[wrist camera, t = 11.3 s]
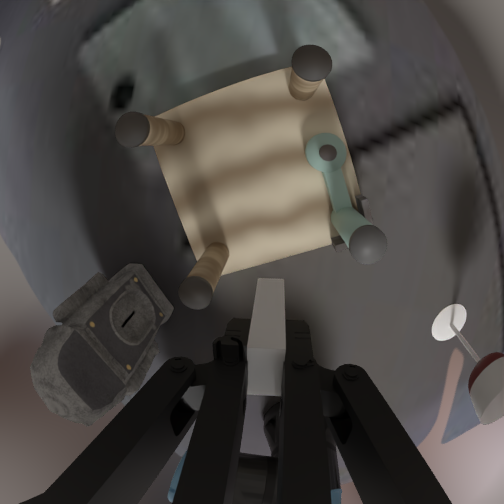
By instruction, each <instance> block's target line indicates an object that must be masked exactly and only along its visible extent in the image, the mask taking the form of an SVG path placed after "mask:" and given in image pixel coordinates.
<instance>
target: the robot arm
mask: <svg viewBox="0 0 504 504" xmlns="http://www.w3.org/2000/svg"><path fill="white" fill-rule="evenodd" d="M213 354H214V360H213V361H212V362H209V363H206V364H199V365H194V363H193V361H192V360H190V359H188V358H185V357H174V358H172V359H169V360H168V361H166V362H165V363H164V364H163V365H162V366H161V367H160V369H159V370H158V371H157V372H156V373H155V374H154V375H153V376H152V377H151V378H150V379H149V381H148V382H147V383H146V384H145V385H144V386H143V387H142V388H141V389H140V390H139V391H138V393H137V394H136V395H135V396H134V397H133V398H132V399H131V400H130V401H129V402H128V403H127V405H126V406H125V407H124V408H123V409H122V410H121V411H120V412H119V413H118V414H117V415H116V416H115V418H114V419H113V420H112V421H111V422H110V423H109V424H108V425H107V426H106V427H105V428H104V429H103V431H102V432H101V433H100V434H99V435H98V436H97V437H96V438H95V439H94V440H93V441H92V442H91V444H90V445H89V446H88V447H87V448H86V449H85V450H84V451H83V452H82V453H81V454H80V455H79V456H78V457H77V458H76V459H75V461H74V462H73V463H72V464H71V465H70V466H69V467H68V468H67V469H66V470H65V471H64V472H63V473H62V474H61V476H59V478H58V479H57V480H56V481H55V482H54V483H53V484H52V485H51V486H50V487H49V488H48V489H47V490H46V491H45V492H44V493H43V494H40V495H38V496H36V497H34V498H31V499H29V500H27V501H24V502H22V503H19V504H137V503H138V502H139V501H140V500H141V498H142V497H143V495H144V494H145V493H146V491H147V490H148V488H149V487H150V486H151V484H152V483H153V481H154V480H155V478H156V477H157V475H158V474H159V473H160V471H161V470H162V469H163V467H164V466H165V464H166V463H167V461H168V460H169V458H170V457H171V455H172V454H173V452H174V451H175V450H176V448H177V447H178V445H179V444H180V442H181V441H182V439H183V438H184V436H185V435H186V433H187V432H188V430H189V429H190V427H191V426H192V424H193V423H194V421H195V420H196V422H195V426H194V429H193V433H192V436H191V439H190V443H189V446H188V450H187V451H186V452H185V454H184V455H183V457H182V459H181V461H180V463H179V465H178V467H177V469H176V471H175V474H174V476H173V479H172V482H171V487H170V490H169V492H168V499H169V501H170V502H172V504H341V493H342V490H341V486H340V477H339V469H338V461H337V453H336V445H337V447H338V449H339V451H340V453H341V456H342V458H343V460H344V462H345V465H346V467H347V469H348V471H349V473H350V476H351V478H352V480H353V482H354V485H355V487H356V489H357V491H358V493H359V495H360V498H361V500H362V502H363V504H452V503H451V501H450V500H449V498H448V496H447V495H446V493H445V492H444V490H443V488H442V487H441V485H440V483H439V482H438V480H437V479H436V478H435V476H434V474H433V472H432V471H431V469H430V468H429V466H428V465H427V463H426V461H425V460H424V458H423V457H422V455H421V454H420V452H419V451H418V449H417V447H416V446H415V444H414V443H413V441H412V440H411V438H410V437H409V435H408V434H407V432H406V431H405V429H404V428H403V426H402V425H401V423H400V422H399V420H398V419H397V417H396V416H395V414H394V413H393V411H392V410H391V408H390V407H389V405H388V404H387V402H386V401H385V399H384V398H383V396H382V395H381V393H380V392H379V390H378V389H377V387H376V386H375V384H374V383H373V381H372V380H371V379H370V377H369V376H368V374H367V373H366V371H365V370H364V369H363V368H361V367H359V366H357V365H353V364H344V365H342V366H339V367H338V368H337V369H336V371H334V370H329V369H326V368H323V367H321V366H319V365H318V364H317V363H316V361H315V359H314V358H313V352H312V345H311V339H310V331H309V326H308V325H307V323H306V322H305V321H304V320H285V295H284V279H270V278H258V282H257V288H256V294H255V301H254V307H253V313H252V319H239V318H233V319H232V320H231V321H230V322H229V323H228V325H227V328H226V332H225V336H222V337H219V338H217V339H216V340H215V341H214V342H213ZM246 395H264V396H281V402H280V403H278V404H276V405H275V406H273V407H272V408H271V409H269V411H268V412H267V413H266V415H265V418H264V433H265V436H266V438H267V441H268V444H269V447H270V450H271V457H270V456H262V455H255V454H248V453H241V452H240V446H241V439H242V432H243V425H244V418H245V410H246ZM196 418H197V419H196Z"/></svg>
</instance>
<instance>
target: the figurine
mask: <svg viewBox="0 0 504 504" xmlns="http://www.w3.org/2000/svg"><path fill="white" fill-rule="evenodd" d="M173 309H174V307H173V306H172V305H171V303H170V302H169V301H168V299H167V298H166V297H165V295H164V294H163V292H162V291H161V290H160V289H159V287H158V286H157V284H156V283H155V282H154V280H153V279H152V277H151V276H150V274H149V273H148V272H147V270H146V269H145V268H144V266H143V265H142V264H132V263H130V264H128V265H127V266H125V267H124V268H123V269H121V270H120V271H119V272H118V273H117V274H116V275H114V276H113V277H112V278H111V279H110V280H109V281H108V280H107V279H106V278H105V276H104V275H103V274H101V273H99V272H98V273H97V274H96V275H94V276H93V277H92V278H91V279H90V280H89V281H88V282H87V283H86V284H85V285H83V286H82V287H81V288H80V289H78V290H77V291H76V292H75V293H74V294H72V295H71V296H70V297H69V298H68V299H66V300H65V301H64V302H63V303H61V304H60V305H59V306H58V307H57V308H56V309H55V310H54V311H53V317H54V318H55V320H56V322H61V323H63V324H62V326H61V325H56V326H53V327H51V328H49V329H48V330H47V332H46V334H45V336H44V340H43V343H42V346H41V347H40V348H39V349H38V351H37V353H36V354H35V357H34V359H33V363H32V364H31V366H30V369H31V377H32V381H33V384H34V388H35V390H36V391H37V393H38V394H39V396H40V397H41V398H42V400H43V401H44V402H45V404H46V405H47V407H48V409H49V410H50V411H51V412H53V413H56V414H58V415H59V416H61V417H63V418H65V419H67V420H70V421H73V422H76V423H83V424H84V425H86V426H90V425H92V424H93V423H94V422H95V421H96V420H97V419H99V418H101V417H102V416H104V415H105V414H106V413H107V412H108V411H109V410H110V409H112V408H113V407H114V406H116V405H117V404H118V403H120V402H121V401H122V400H123V399H124V397H125V395H128V396H130V395H131V394H133V393H134V392H136V391H137V390H139V388H140V386H141V384H142V382H143V380H144V378H145V376H146V373H147V372H148V370H149V368H150V366H151V364H152V361H153V359H154V357H155V355H157V354H158V353H160V352H159V349H158V344H157V343H156V341H155V340H154V338H155V336H156V334H157V332H158V329H159V327H160V325H161V324H163V323H165V322H167V320H168V319H169V317H170V316H171V314H172V312H173Z"/></svg>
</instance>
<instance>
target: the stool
mask: <svg viewBox="0 0 504 504" xmlns="http://www.w3.org/2000/svg"><path fill="white" fill-rule="evenodd" d="M331 69H332V60H331V57H330V55H329V54H328V52H327V51H325V50H324V49H323V48H321V47H319V46H316V45H304V46H302V47H300V48H298V49H297V50H296V51H295V52H294V54H293V57H292V67H288V68H284V69H281V70H277V71H274V72H270V73H267V74H263V75H260V76H257V77H254V78H251V79H247V80H244V81H241V82H239V83H236V84H233V85H230V86H227V87H224V88H222V89H219V90H216V91H214V92H211V93H208V94H206V95H203V96H201V97H198V98H196V99H193V100H191V101H189V102H186V103H184V104H182V105H179V106H177V107H175V108H173V109H170V110H168V111H166V112H164V113H162V114H160V115H157V116H155V117H153V116H148V115H143V114H142V113H139V112H128V113H125V114H124V115H122V116H121V117H120V119H119V120H118V122H117V124H116V127H115V136H116V139H117V141H118V142H119V143H120V144H121V145H122V146H124V147H137V146H154V149H155V152H156V155H157V158H158V161H159V164H160V166H161V169H162V172H163V175H164V177H165V180H166V183H167V186H168V188H169V191H170V194H171V196H172V199H173V202H174V204H175V207H176V209H177V212H178V215H179V217H180V220H181V222H182V225H183V227H184V230H185V232H186V235H187V237H188V240H189V242H190V245H191V247H192V250H193V252H194V255H195V257H196V260H197V263H196V264H195V266H194V267H193V269H192V270H191V272H190V273H189V275H188V276H187V278H186V279H185V280H184V281H183V282H182V283H181V285H180V287H179V290H178V294H179V298H180V300H181V301H182V303H183V304H184V305H186V306H187V307H189V308H191V309H196V310H199V309H203V308H205V307H207V306H208V305H209V304H210V302H211V299H212V297H213V292H214V290H215V288H216V285H217V283H218V281H219V278H220V276H221V275H224V274H228V273H232V272H235V271H239V270H242V269H246V268H249V267H253V266H257V265H260V264H264V263H267V262H271V261H274V260H278V259H281V258H285V257H288V256H292V255H295V254H299V253H302V252H306V251H309V250H313V249H316V248H320V247H323V246H327V245H330V244H332V245H333V247H334V249H335V251H336V252H339V251H342V250H346V249H349V248H348V246H347V245H346V243H345V242H344V240H343V239H342V237H341V236H340V234H339V233H338V231H337V230H336V228H335V227H334V225H333V224H332V222H331V213H332V211H333V207H332V204H331V201H330V197H329V194H328V191H327V187H326V184H325V181H324V178H323V175H322V172H321V171H318V170H316V169H315V168H313V167H312V166H311V165H310V164H309V163H308V161H307V159H306V156H305V148H306V145H307V143H308V141H309V140H310V139H311V138H312V137H313V136H315V135H318V134H321V133H331V134H334V135H336V136H337V137H339V138H340V139H341V140H342V141H343V143H344V145H345V147H346V160H345V162H344V164H343V165H342V167H341V170H342V173H343V176H344V180H345V183H346V187H347V190H348V194H349V197H350V201H351V204H352V207H353V208H354V209H355V210H356V211H357V212H359V213H360V214H361V215H362V216H363V217H364V218H366V219H367V220H368V221H369V222H370V223H371V224H373V220H372V215H371V211H370V206H369V202H368V199H367V198H366V197H364V196H362V195H361V194H360V190H359V186H358V182H357V178H356V174H355V171H354V167H353V164H352V160H351V157H350V153H349V150H348V146H347V143H346V140H345V137H344V133H343V130H342V127H341V124H340V121H339V118H338V115H337V112H336V109H335V106H334V103H333V101H332V98H331V95H330V92H329V90H328V87H327V84H326V82H325V79H324V78H326V77H327V75H328V74H329V73H330V71H331ZM319 155H320V157H321V158H322V159H323V160H325V161H332V160H334V159H335V158H336V156H337V151H336V148H335V147H334V146H332V145H329V144H327V145H323V146H322V147H321V148H320V149H319Z"/></svg>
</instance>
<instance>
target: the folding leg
mask: <svg viewBox="0 0 504 504" xmlns="http://www.w3.org/2000/svg"><path fill="white" fill-rule="evenodd" d="M327 144H329V145H332V146H334V147H335V148H336V151H337V156H336V158H335V159H334V160H332V161H325V160H323V159H322V158H321V157H320V155H319V149H320V148H321V147H322V146H323V145H327ZM305 156H306V159H307V161H308V163H309V164H310V165H311V166H312V167H313V168H315V169H316V170H318V171H321V172H322V175H323V178H324V181H325V184H326V187H327V191H328V194H329V197H330V201H331V204H332V207H333V211H332V213H331V222H332V224H333V225H334V227H335V228H336V230H337V231H338V233H339V234H340V236H341V237H342V239H343V240H344V242H345V243H346V245H347V246H348V248H349V250H350V253H351V254H352V256H353V258H354V259H355V260H356V261H357V262H359V263H361V264H365V265H369V264H373V263H376V262H377V261H379V260H380V259H381V258H382V257H383V256H384V254H385V252H386V249H387V239H386V236H385V234H384V233H383V232H382V231H381V230H380V229H379V228H377V227H376V226H374V225H373V224H371V223H370V222H369V221H368V220H367V219H366V218H364V217H363V216H362V215H361V214H360V213H359V212H357V211H356V210H355V209H354V208H353V207H352V204H351V201H350V197H349V194H348V190H347V187H346V183H345V180H344V176H343V173H342V170H341V167H342V165H343V164H344V162H345V160H346V147H345V145H344V143H343V141H342V140H341V139H340V138H339V137H337V136H336V135H334V134H331V133H321V134H318V135H315V136H313V137H312V138H311V139H310V140H309V141H308V143H307V145H306V148H305Z"/></svg>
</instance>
